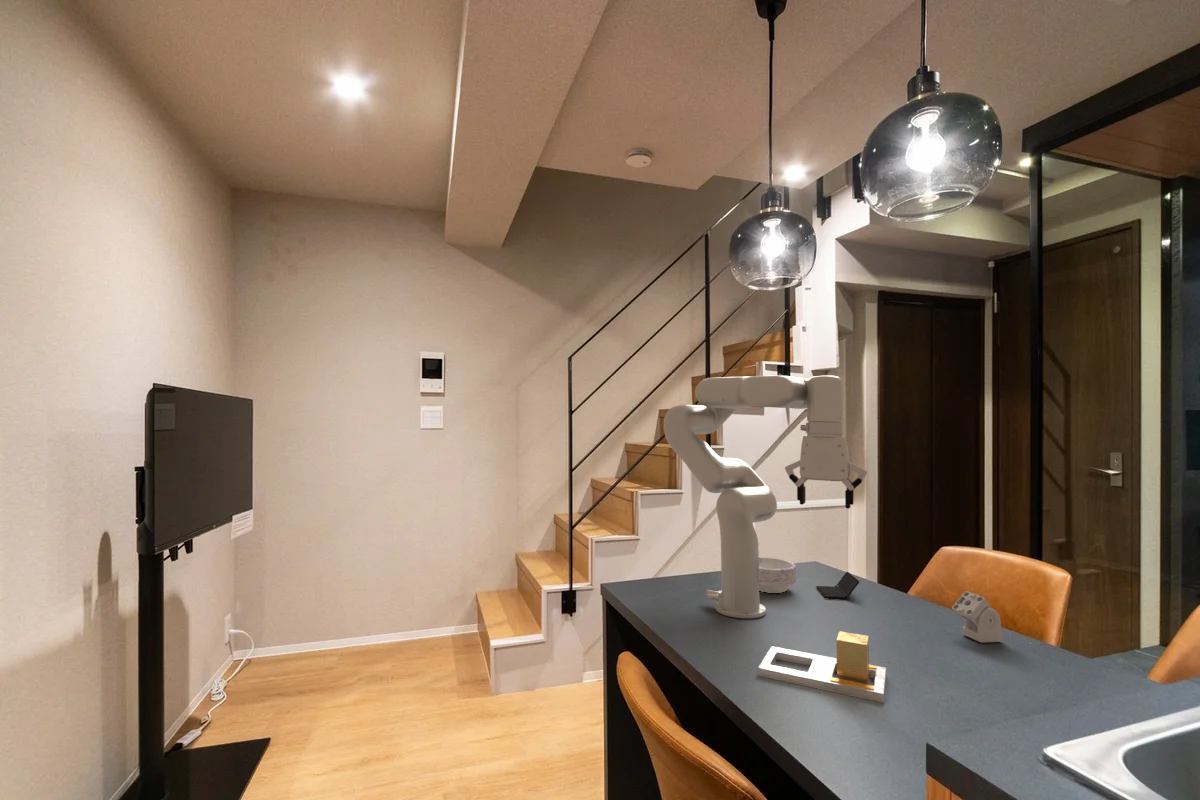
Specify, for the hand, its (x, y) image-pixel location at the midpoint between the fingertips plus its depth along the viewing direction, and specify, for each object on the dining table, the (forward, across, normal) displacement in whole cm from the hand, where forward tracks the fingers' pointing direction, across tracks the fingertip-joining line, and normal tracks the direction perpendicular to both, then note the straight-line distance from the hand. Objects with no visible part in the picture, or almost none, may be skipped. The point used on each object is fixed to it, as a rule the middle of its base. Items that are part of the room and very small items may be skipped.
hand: (824, 505), depth 123 cm
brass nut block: (+29, +8, -21) cm, 37 cm away
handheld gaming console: (+30, -2, +38) cm, 49 cm away
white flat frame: (+29, +3, -21) cm, 36 cm away
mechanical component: (+29, +29, +17) cm, 44 cm away
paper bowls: (+30, -20, +32) cm, 49 cm away
